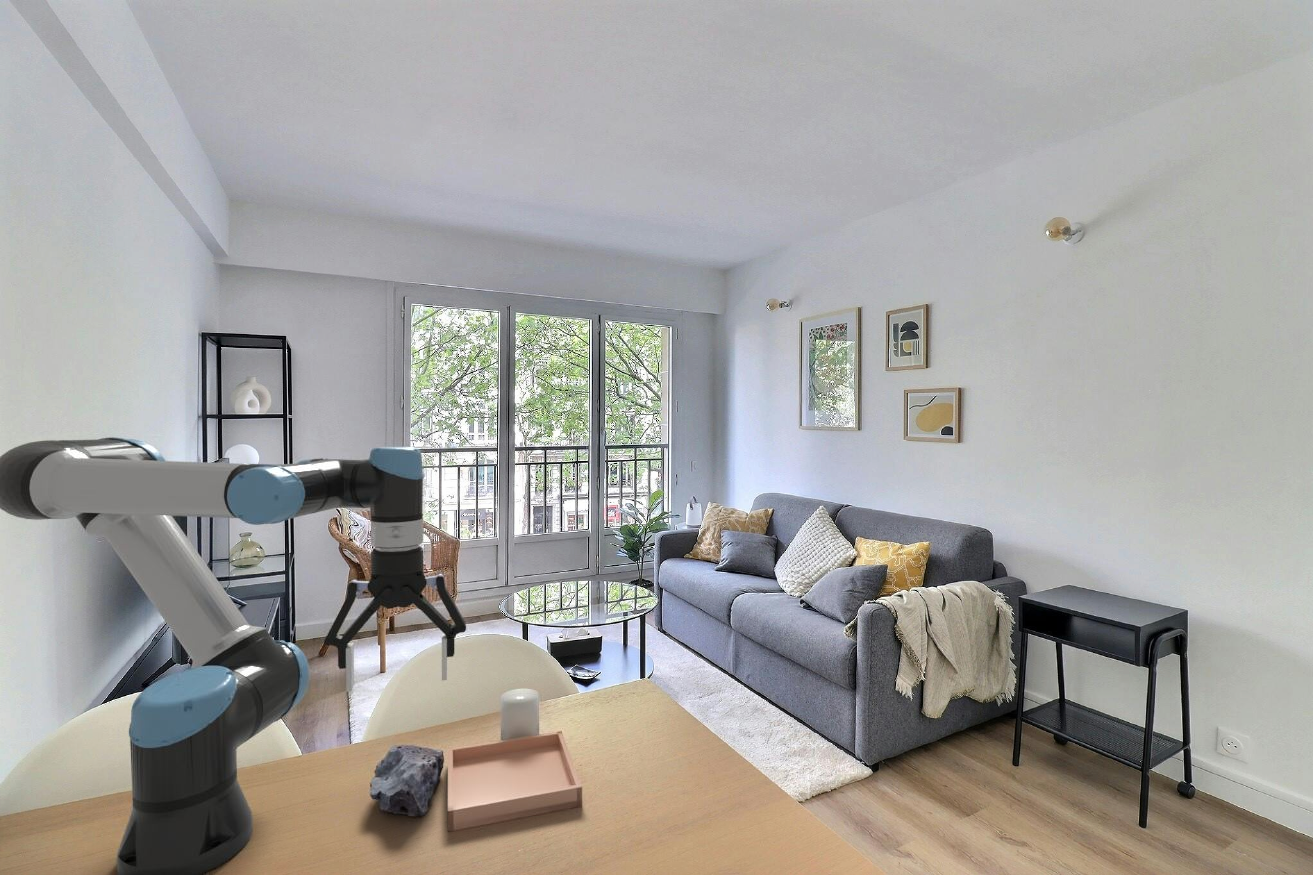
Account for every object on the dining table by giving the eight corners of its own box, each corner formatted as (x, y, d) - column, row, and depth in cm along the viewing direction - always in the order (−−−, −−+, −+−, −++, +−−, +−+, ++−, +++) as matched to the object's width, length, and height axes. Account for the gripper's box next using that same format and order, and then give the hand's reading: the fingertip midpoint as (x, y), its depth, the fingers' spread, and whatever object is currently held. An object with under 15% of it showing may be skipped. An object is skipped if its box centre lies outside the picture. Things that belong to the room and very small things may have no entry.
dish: (448, 831, 92) (447, 811, 92) (447, 765, 110) (447, 748, 110) (582, 805, 98) (582, 786, 98) (561, 747, 116) (561, 731, 116)
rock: (430, 818, 92) (439, 741, 97) (355, 821, 90) (368, 742, 95) (439, 811, 105) (447, 744, 109) (373, 814, 103) (384, 745, 107)
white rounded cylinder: (502, 750, 115) (502, 706, 115) (499, 732, 122) (499, 691, 121) (541, 744, 117) (541, 701, 117) (536, 727, 124) (536, 686, 124)
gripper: (301, 556, 92) (303, 703, 92) (482, 546, 99) (482, 681, 100) (311, 546, 99) (313, 683, 99) (479, 538, 107) (479, 664, 107)
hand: (398, 682), depth 100 cm, fingers open, 13 cm apart
